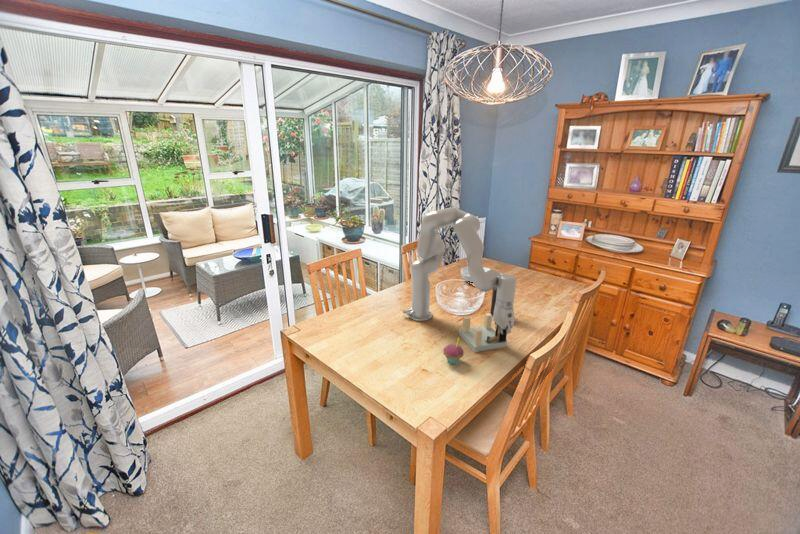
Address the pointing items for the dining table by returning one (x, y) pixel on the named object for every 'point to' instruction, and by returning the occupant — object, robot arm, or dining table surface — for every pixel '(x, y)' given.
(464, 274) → the serving bowl
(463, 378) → the dining table surface
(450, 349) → the cupcake
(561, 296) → the dining table surface
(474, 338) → the stool seat
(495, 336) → the folding leg
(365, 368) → the dining table surface
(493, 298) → the bottle
